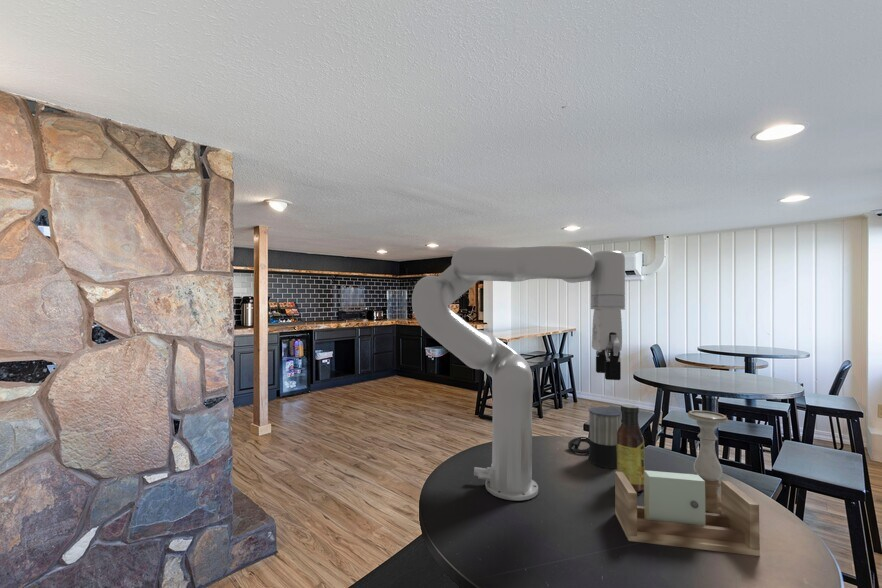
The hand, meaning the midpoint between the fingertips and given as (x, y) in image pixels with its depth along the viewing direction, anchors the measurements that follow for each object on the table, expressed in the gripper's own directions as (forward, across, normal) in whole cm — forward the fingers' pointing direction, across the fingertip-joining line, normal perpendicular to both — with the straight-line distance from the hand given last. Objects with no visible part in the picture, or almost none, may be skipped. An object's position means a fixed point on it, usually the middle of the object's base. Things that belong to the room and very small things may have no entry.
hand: (607, 376), depth 92 cm
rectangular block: (+27, +12, +10) cm, 31 cm away
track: (+28, +12, +11) cm, 33 cm away
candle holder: (+28, -2, +22) cm, 36 cm away
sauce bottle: (+28, -8, +7) cm, 30 cm away
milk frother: (+29, -26, +2) cm, 39 cm away
